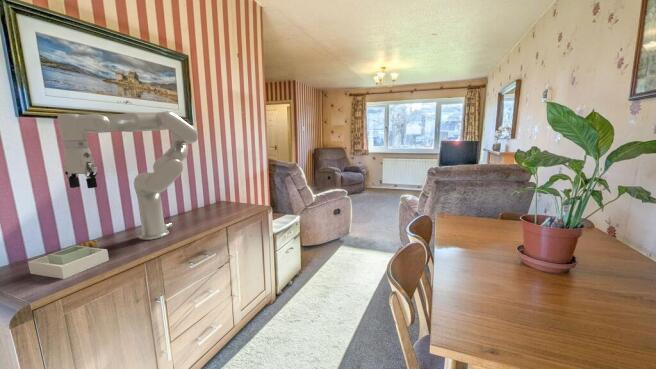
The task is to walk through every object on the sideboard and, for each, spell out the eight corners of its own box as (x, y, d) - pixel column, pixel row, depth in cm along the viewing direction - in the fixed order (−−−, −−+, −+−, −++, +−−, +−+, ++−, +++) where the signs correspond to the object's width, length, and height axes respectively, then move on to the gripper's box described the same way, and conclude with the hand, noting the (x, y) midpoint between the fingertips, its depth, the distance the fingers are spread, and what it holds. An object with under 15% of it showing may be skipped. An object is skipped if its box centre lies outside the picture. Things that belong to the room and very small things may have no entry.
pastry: (71, 256, 112) (69, 247, 112) (69, 252, 117) (68, 243, 116) (100, 249, 119) (98, 241, 118) (97, 245, 124) (96, 237, 123)
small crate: (78, 258, 107) (76, 245, 106) (91, 260, 105) (89, 246, 105) (50, 268, 99) (47, 254, 98) (64, 270, 97) (61, 256, 96)
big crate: (78, 256, 111) (76, 245, 111) (109, 260, 107) (107, 249, 106) (30, 273, 97) (27, 261, 96) (63, 278, 93) (61, 266, 92)
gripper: (102, 144, 109) (109, 186, 112) (71, 145, 114) (78, 185, 117) (81, 145, 102) (89, 189, 105) (49, 146, 107) (57, 188, 110)
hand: (83, 187), depth 111 cm, fingers open, 9 cm apart
